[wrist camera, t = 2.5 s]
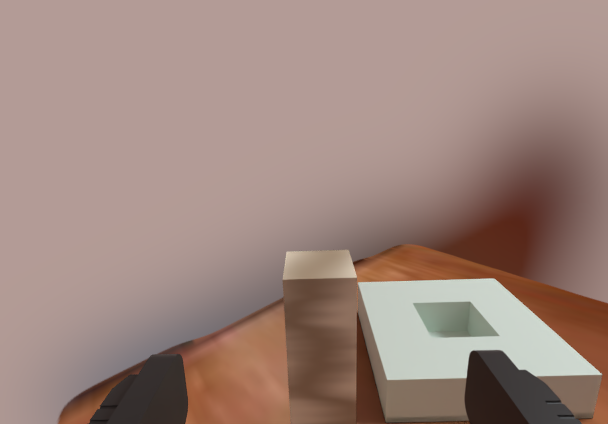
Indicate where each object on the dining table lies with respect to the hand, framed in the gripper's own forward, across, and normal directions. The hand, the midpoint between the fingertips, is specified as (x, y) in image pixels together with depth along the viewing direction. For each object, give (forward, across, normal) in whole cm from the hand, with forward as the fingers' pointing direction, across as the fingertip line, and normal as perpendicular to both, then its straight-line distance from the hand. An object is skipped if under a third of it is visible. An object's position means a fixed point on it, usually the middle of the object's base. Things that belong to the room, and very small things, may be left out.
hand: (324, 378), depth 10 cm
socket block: (+22, -13, +16) cm, 31 cm away
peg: (+11, 0, +16) cm, 20 cm away
